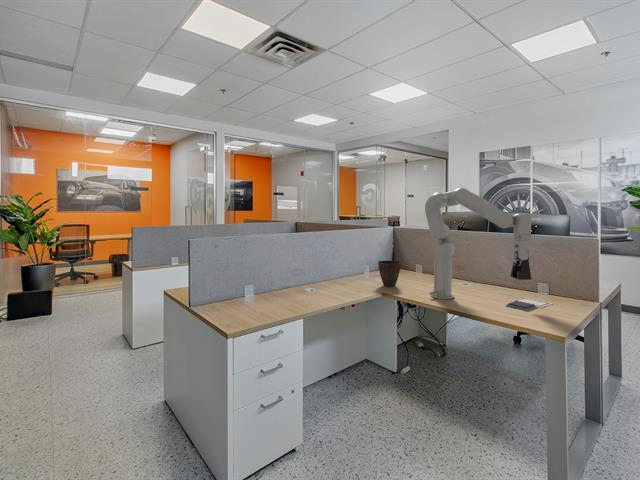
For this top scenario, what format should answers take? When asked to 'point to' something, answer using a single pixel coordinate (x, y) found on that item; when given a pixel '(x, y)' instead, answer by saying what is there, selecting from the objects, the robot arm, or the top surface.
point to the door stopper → (522, 271)
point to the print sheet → (533, 302)
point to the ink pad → (521, 305)
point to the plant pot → (389, 272)
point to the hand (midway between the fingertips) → (520, 272)
